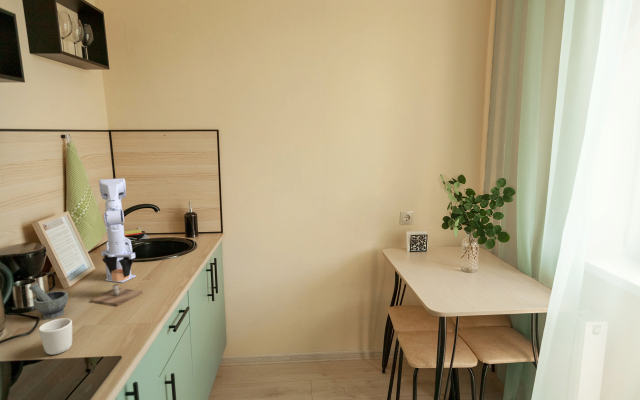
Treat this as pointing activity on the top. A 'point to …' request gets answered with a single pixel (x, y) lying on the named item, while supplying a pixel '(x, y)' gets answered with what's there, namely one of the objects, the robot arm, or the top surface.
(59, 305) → the mortar and pestle
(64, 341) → the cup
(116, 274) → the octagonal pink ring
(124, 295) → the peg plate
